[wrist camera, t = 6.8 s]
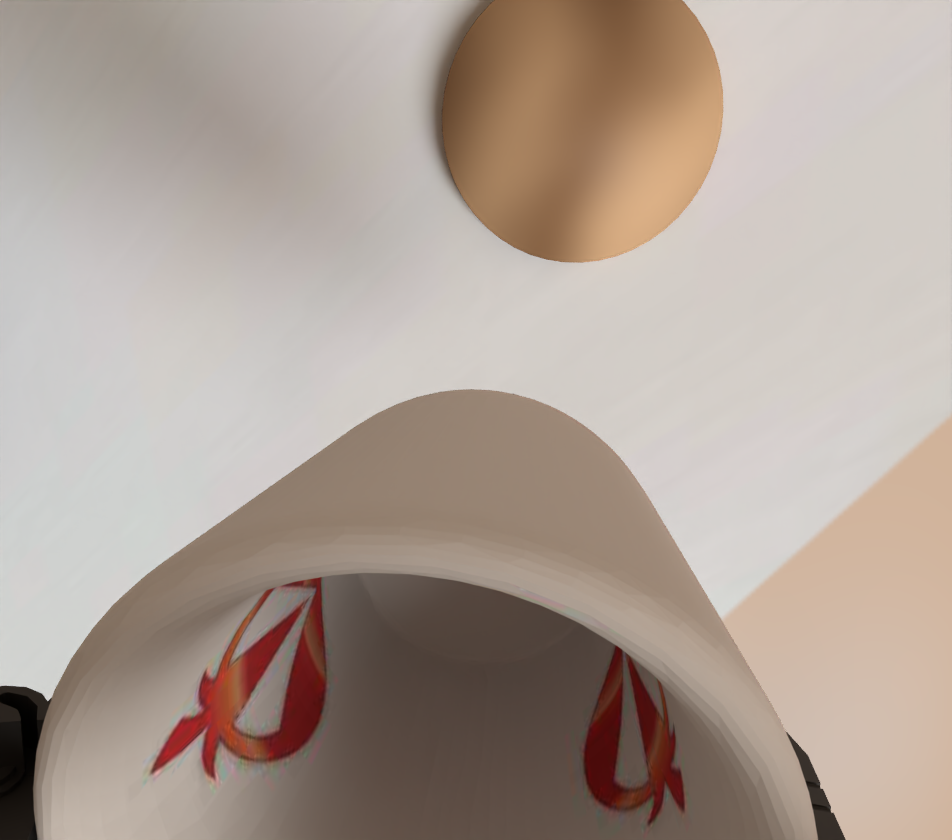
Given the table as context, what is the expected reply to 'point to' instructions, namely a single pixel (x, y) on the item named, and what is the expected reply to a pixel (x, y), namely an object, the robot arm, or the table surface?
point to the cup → (423, 660)
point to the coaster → (582, 122)
